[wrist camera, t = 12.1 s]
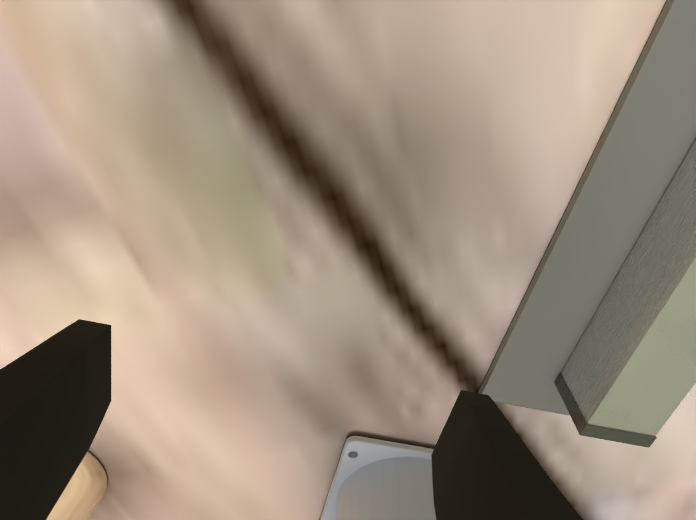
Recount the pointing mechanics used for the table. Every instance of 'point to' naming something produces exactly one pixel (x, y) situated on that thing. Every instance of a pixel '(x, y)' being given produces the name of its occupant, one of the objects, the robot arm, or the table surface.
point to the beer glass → (81, 491)
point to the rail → (641, 329)
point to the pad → (603, 215)
